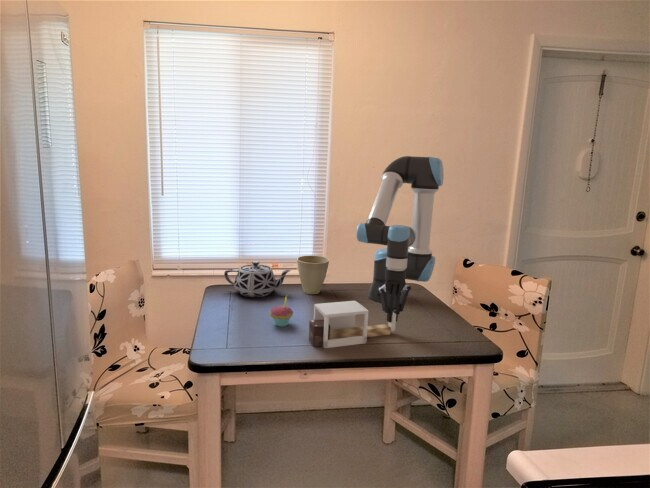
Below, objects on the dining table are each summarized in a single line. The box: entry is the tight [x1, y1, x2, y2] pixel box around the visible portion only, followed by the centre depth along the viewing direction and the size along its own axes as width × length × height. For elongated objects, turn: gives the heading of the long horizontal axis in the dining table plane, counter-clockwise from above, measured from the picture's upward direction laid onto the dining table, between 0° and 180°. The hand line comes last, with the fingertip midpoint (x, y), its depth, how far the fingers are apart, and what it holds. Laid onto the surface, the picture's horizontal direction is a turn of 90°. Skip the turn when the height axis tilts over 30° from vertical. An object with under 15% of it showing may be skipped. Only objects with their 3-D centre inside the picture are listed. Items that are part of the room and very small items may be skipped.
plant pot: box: [296, 255, 330, 295], centre depth 213 cm, size 15×15×16 cm
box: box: [308, 319, 330, 347], centre depth 158 cm, size 6×6×7 cm
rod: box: [330, 323, 391, 339], centre depth 165 cm, size 25×3×3 cm, turn 112°
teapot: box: [223, 260, 292, 298], centre depth 207 cm, size 19×31×15 cm, turn 88°
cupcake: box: [269, 295, 294, 327], centre depth 172 cm, size 9×8×12 cm
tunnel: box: [313, 300, 369, 349], centre depth 161 cm, size 16×11×12 cm
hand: (391, 329), depth 169 cm, fingers closed
